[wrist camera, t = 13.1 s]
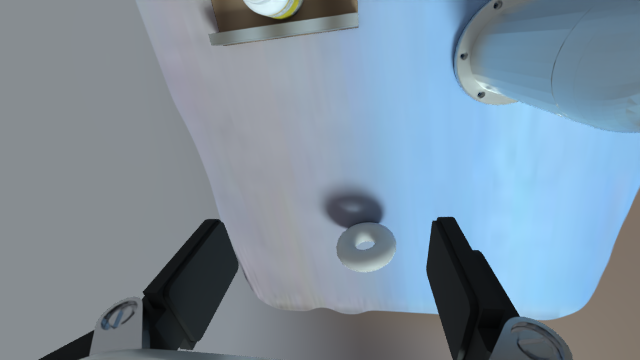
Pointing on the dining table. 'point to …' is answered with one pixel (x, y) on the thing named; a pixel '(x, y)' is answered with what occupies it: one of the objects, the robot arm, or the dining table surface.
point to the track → (280, 21)
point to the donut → (369, 257)
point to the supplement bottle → (275, 7)
